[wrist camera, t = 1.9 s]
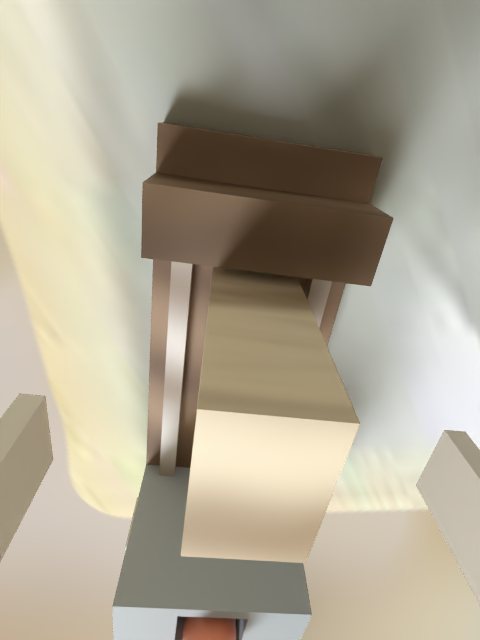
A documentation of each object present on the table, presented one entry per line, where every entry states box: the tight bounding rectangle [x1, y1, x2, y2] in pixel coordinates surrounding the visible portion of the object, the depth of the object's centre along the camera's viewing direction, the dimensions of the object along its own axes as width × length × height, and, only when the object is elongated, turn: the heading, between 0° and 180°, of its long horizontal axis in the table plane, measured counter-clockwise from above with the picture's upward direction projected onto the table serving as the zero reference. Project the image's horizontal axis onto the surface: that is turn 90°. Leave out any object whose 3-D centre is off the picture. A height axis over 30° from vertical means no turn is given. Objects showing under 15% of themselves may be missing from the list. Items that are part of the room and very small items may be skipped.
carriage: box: [181, 267, 360, 563], centre depth 15 cm, size 6×4×11 cm, turn 172°
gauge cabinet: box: [113, 465, 312, 640], centre depth 24 cm, size 5×10×10 cm, turn 82°
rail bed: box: [141, 122, 393, 476], centre depth 22 cm, size 26×10×4 cm, turn 172°
